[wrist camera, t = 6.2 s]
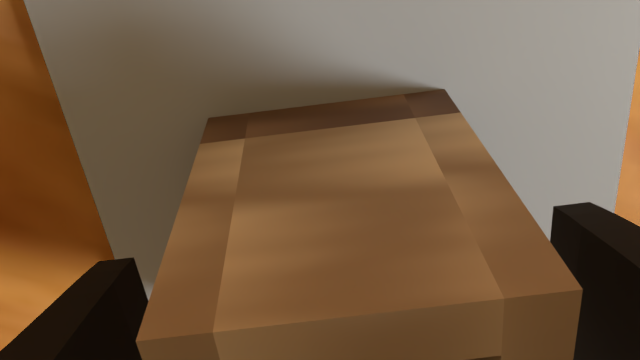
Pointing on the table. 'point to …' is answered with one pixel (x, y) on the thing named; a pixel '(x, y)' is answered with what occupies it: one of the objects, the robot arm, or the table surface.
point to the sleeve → (356, 244)
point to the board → (335, 87)
